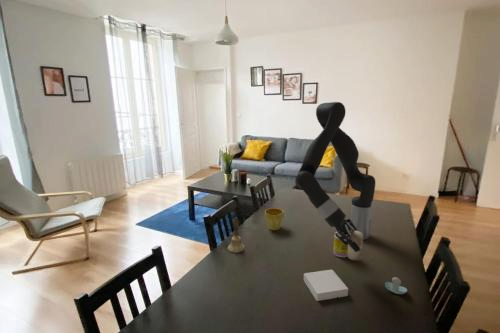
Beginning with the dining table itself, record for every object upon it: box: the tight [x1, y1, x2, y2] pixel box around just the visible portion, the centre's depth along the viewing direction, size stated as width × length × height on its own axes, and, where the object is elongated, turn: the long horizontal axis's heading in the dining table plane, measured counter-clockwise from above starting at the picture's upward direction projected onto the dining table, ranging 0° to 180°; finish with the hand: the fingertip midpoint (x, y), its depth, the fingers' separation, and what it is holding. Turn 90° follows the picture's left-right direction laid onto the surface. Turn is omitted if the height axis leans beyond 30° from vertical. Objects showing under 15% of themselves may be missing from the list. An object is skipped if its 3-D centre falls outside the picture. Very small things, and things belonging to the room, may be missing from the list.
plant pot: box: [264, 207, 284, 231], centre depth 154 cm, size 10×10×10 cm
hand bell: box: [227, 216, 246, 254], centre depth 132 cm, size 8×8×16 cm
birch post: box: [347, 231, 364, 261], centre depth 109 cm, size 5×5×10 cm
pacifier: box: [384, 276, 408, 295], centre depth 103 cm, size 7×6×6 cm
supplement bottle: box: [332, 231, 349, 258], centre depth 127 cm, size 7×7×13 cm
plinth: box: [303, 269, 349, 302], centre depth 105 cm, size 12×12×3 cm
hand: (359, 247), depth 108 cm, fingers closed on birch post, 5 cm apart
